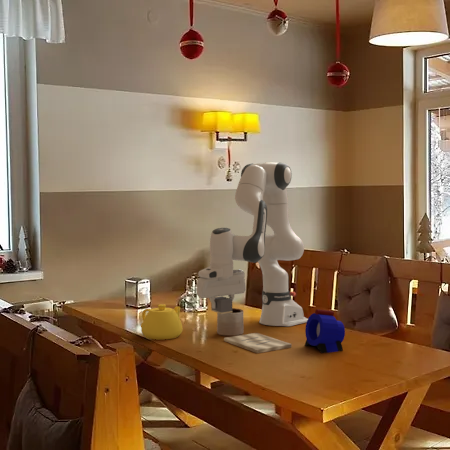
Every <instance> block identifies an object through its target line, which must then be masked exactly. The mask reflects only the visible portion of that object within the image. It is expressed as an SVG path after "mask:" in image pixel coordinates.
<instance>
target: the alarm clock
mask: <svg viewBox="0 0 450 450" xmlns="http://www.w3.org/2000/svg"><path fill="white" fill-rule="evenodd" d="M304 329H305V331H304V334H305V338H306V340H305V343H304V346H306V347H307V346H314V347H316V348H317V350H318V351H319V352H320V353H321V354H330V353H335V352H343V351H344V350H343V341H344V340H345V336H346V327H345V324H344V323H343V322H342V321H341V320H337V319H336V317H335V312H334V311H333V310H326V309H318V308H316V309H315V311H314V312H313V313H311V314H310V316H309V317H308V320H307V322H305V328H304Z"/></svg>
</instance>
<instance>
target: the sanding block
mask: <svg viewBox="0 0 450 450" xmlns="http://www.w3.org/2000/svg"><path fill="white" fill-rule="evenodd" d="M214 301H215V303H217V308H215V309H213V308H212V303H211V302H210V303H211V304H210V305H211V307H210V308H211V309H210V310H211V312H214V313H216V314H217V313H220V314H224V313H231V312H232V308H233V301H232V299H230V298H229V297H226V296H217V297H215V300H214Z"/></svg>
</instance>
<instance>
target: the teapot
mask: <svg viewBox="0 0 450 450" xmlns="http://www.w3.org/2000/svg"><path fill="white" fill-rule="evenodd" d="M180 312H181V306H175V307H174V308H171V307H167V305H166V304H163V303H161V304H158V305H157V307H154V308H145V309H144V310H142V313H141V317H142V322H141V323H140V328H141V329H140V330H141V334H142V335H143V336H144V337H145V338H147V339H150V340H155V339H156V341H157V340H158V341H160V340H162V341H163V340H165V339H166V340H172V339H176V338H178V337H179V336H180V335H182V332H183V324H182V321H181V319H180ZM166 340H165V341H166Z"/></svg>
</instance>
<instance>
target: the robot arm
mask: <svg viewBox="0 0 450 450" xmlns="http://www.w3.org/2000/svg"><path fill="white" fill-rule="evenodd" d="M292 175H293V173H292V169H291V167H290V166H289V164H287V163H286V162H285V163H284V162H273V161H272V162H270V161H266V162H258V163H248V164H246V165H245V166H244V167H243V168H242V169H241V172H240V178H239V179H240V180H239V182H238V183H237V187H236V190H235V194H234V199H235V203H236V205H237V206H238V207H239V209H241V211H244V212H246V213H247V214H250V215H252V216H253V223H252V224H253V226H252V232H251V234H250V235H237V234H236V235H235V234H234V233H232V229H231V228H228V227H218V228H214V229H213V230H212V231H211V234H210V238H209V254H210V261H209V266H207V267H204V268H202V269H200V270H199V271H198V273H197V275H198V279H197V282H196V295H197V297H198V298H200V299H209V301H210V303H212V308H213V309H215V308H217V303H215V301H214V300H215V297H222V296H223V297H226V296H227V298H230V299H232V302H233V301H234V299H235V295H241V294H245V292H246V291H247V288H246V286H247V285H246V279H245V276H246V275H245V271H244V270H242V269H241V268H239V269H234V261H241V262H248V263H252V264H256V263H258V265H259V267H260V270H261V273H262V286H263V287H262V291H261V299H262V307H261V314H260V317H259V324H261V325H264V326H265V325H266V326H273V327H275V326H276V327H293V326H295V325H300V324H304V323H305V324H306V323H307V320H308V318H309V317H308V318H307V317H305V315H304V310H303V307H302V306H301V305H299V304H298V303H297V302H296V301H295V300H293V299H292V297H296V292H295V291H290V290H289V274H288V272H287V271H286V270H285V269H284V268H283V267H281V266H280V264H279V262H278V261H295V260H299V259H301V257H303V254H304V251H305V244H304V241H303V240H302V238H300V237H299V236H298V235H297V234H296V233H295V231H294V230H293V228H292V225H291V223H290V219H289V217H290V216H289V199H288V197H289V196H288V189H287V187H288V186H289V185H290V184H291V181H292V178H293V177H292ZM267 226H268V227H270V228H271V230H272V231H273V234H271V233H270V234H268V233H267V234H266V230H267Z"/></svg>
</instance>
